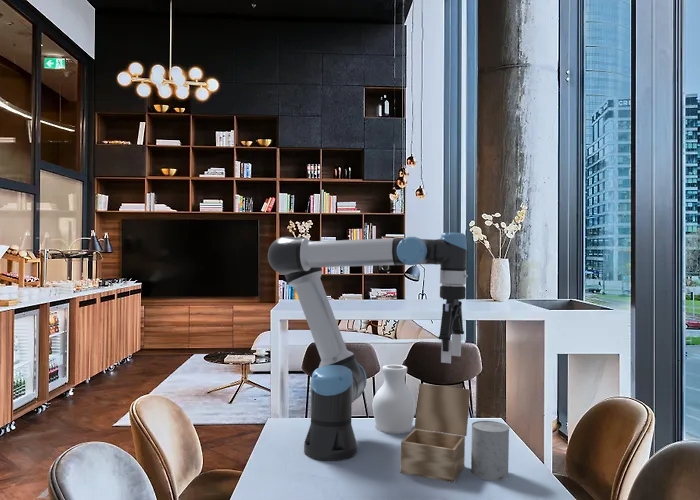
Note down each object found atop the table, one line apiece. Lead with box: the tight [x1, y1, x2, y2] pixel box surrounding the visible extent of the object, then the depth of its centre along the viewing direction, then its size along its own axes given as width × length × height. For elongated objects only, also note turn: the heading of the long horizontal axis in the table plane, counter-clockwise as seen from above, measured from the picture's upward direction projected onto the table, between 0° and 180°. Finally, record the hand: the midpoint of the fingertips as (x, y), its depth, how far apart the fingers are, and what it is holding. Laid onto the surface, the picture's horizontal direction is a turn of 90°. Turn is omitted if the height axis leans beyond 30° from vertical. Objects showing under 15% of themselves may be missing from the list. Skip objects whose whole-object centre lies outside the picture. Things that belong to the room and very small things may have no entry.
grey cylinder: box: [470, 420, 510, 482], centre depth 145 cm, size 10×10×12 cm
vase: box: [371, 364, 417, 435], centre depth 182 cm, size 14×14×20 cm
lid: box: [413, 383, 471, 437], centre depth 155 cm, size 14×12×1 cm
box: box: [400, 428, 466, 483], centre depth 147 cm, size 14×12×8 cm
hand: (451, 359), depth 163 cm, fingers open, 12 cm apart
